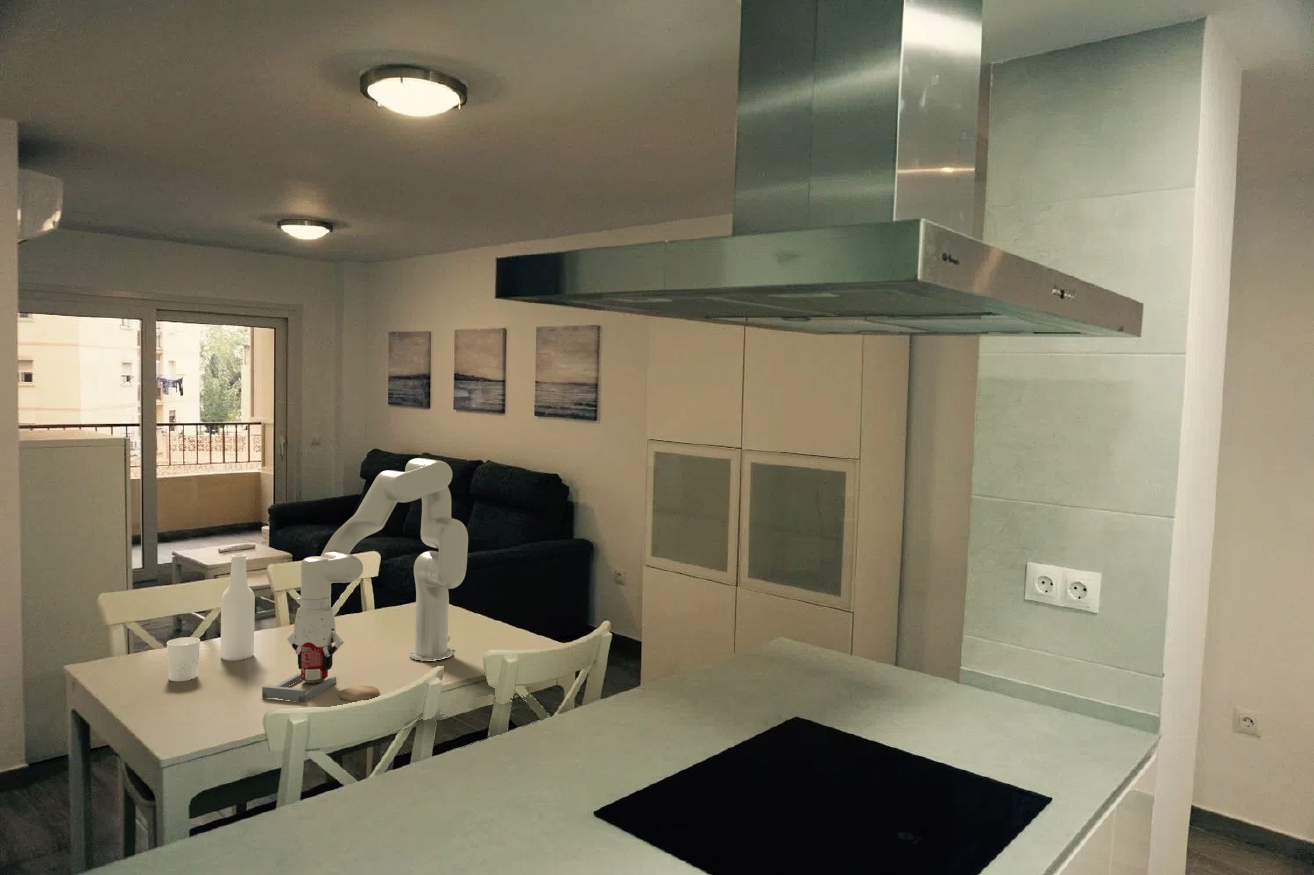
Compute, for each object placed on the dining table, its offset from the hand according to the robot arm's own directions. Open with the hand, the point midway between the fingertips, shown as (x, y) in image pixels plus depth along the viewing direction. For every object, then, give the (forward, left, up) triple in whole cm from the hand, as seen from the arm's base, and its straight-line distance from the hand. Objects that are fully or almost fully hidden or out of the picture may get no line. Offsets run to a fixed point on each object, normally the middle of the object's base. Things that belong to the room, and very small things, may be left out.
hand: (315, 668), depth 232 cm
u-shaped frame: (+7, 0, -4) cm, 8 cm away
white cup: (+6, -35, -4) cm, 36 cm away
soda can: (0, 0, -3) cm, 3 cm away
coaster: (+6, +16, -4) cm, 17 cm away
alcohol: (-14, -33, -4) cm, 36 cm away
